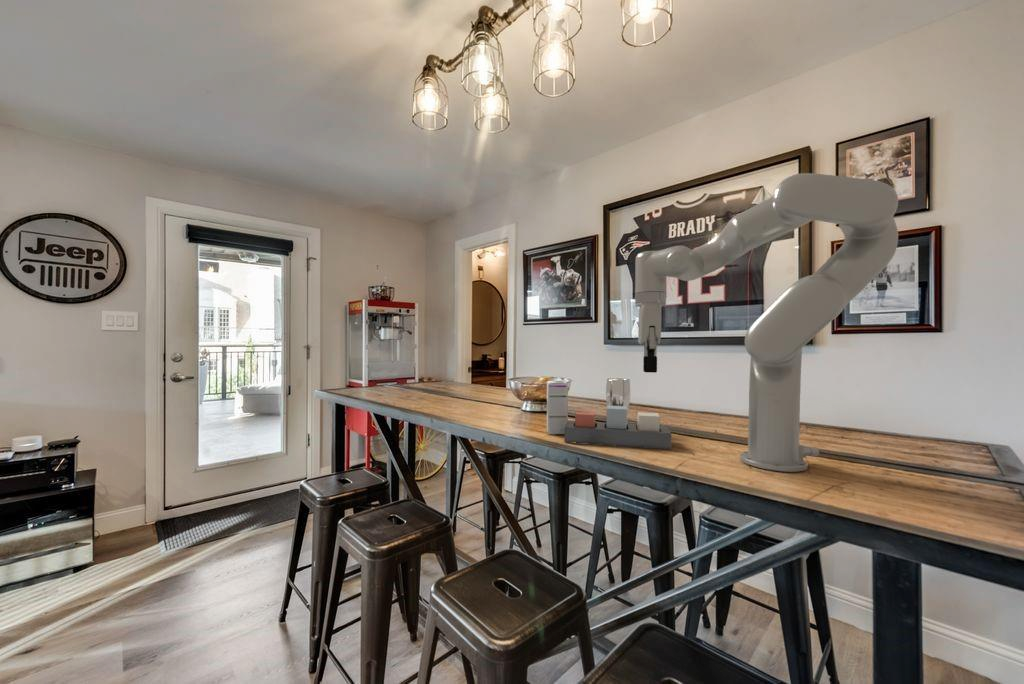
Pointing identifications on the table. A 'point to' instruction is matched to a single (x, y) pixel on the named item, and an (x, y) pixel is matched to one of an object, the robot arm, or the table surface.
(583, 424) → the key red
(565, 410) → the syrup box
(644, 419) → the key ivory
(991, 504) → the table surface
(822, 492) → the table surface
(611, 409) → the grey cube
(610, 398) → the beer glass
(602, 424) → the grey slotted holder
